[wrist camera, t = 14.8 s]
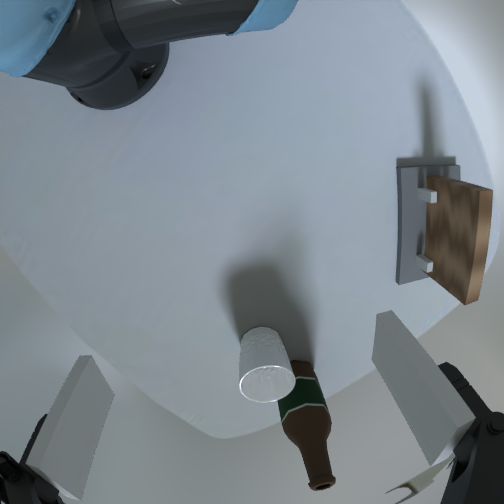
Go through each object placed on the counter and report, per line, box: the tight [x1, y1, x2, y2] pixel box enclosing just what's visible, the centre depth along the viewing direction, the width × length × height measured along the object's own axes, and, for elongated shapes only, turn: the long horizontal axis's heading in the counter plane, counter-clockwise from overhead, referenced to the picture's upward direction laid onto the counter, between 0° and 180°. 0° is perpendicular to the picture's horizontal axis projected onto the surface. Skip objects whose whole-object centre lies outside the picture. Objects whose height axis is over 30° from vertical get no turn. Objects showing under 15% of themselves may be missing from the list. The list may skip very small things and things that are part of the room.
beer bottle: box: [278, 360, 336, 491], centre depth 39 cm, size 8×8×24 cm
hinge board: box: [396, 165, 460, 285], centre depth 39 cm, size 19×13×5 cm
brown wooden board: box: [423, 175, 493, 305], centre depth 34 cm, size 16×4×12 cm, turn 9°
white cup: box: [239, 327, 296, 402], centre depth 42 cm, size 8×8×10 cm
